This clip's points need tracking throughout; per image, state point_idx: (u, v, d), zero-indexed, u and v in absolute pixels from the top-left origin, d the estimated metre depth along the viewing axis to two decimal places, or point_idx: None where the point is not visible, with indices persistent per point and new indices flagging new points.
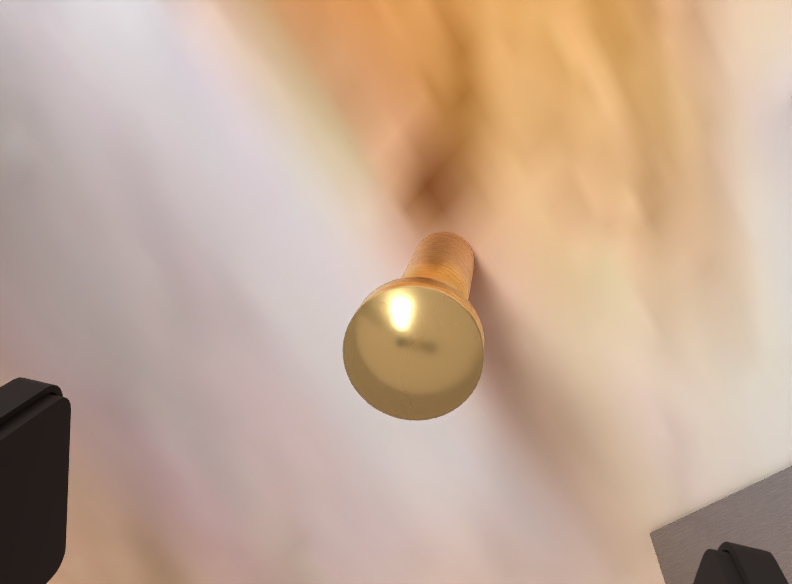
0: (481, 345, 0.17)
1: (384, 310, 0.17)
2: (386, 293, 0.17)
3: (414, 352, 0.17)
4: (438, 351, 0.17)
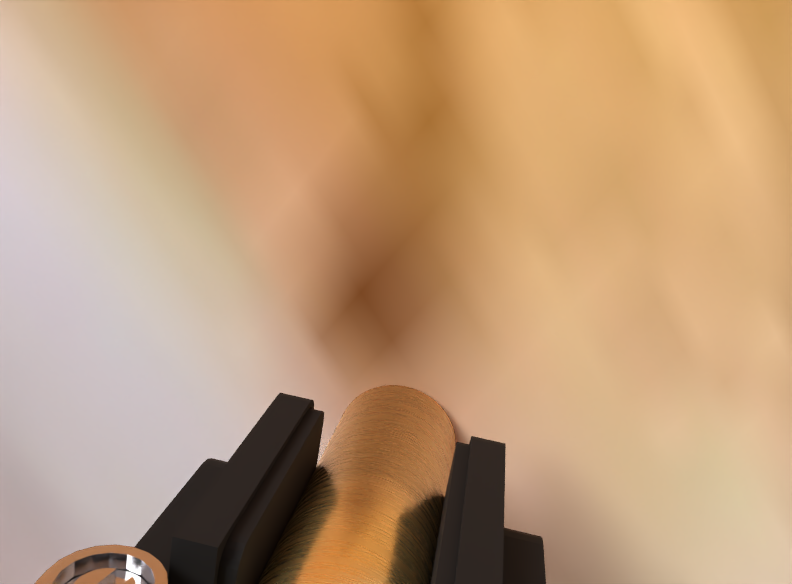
0: None
1: None
2: None
3: None
4: None
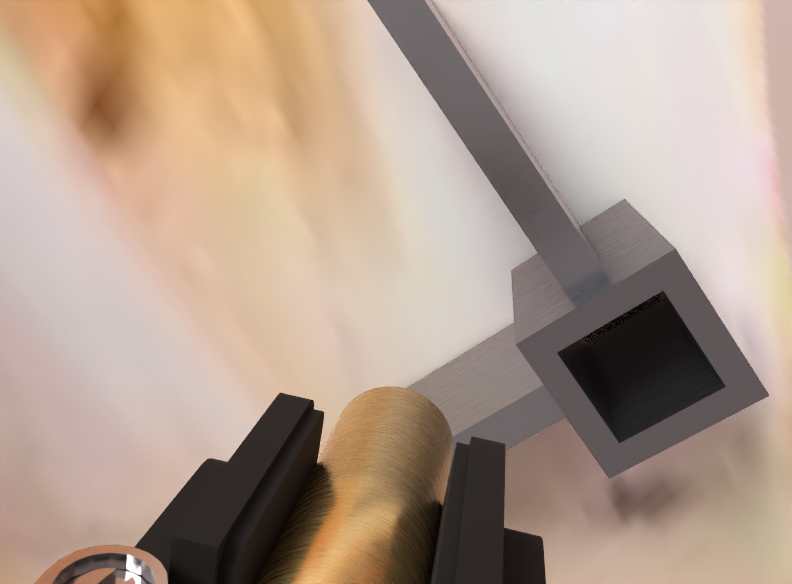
0: None
1: None
2: None
3: None
4: None
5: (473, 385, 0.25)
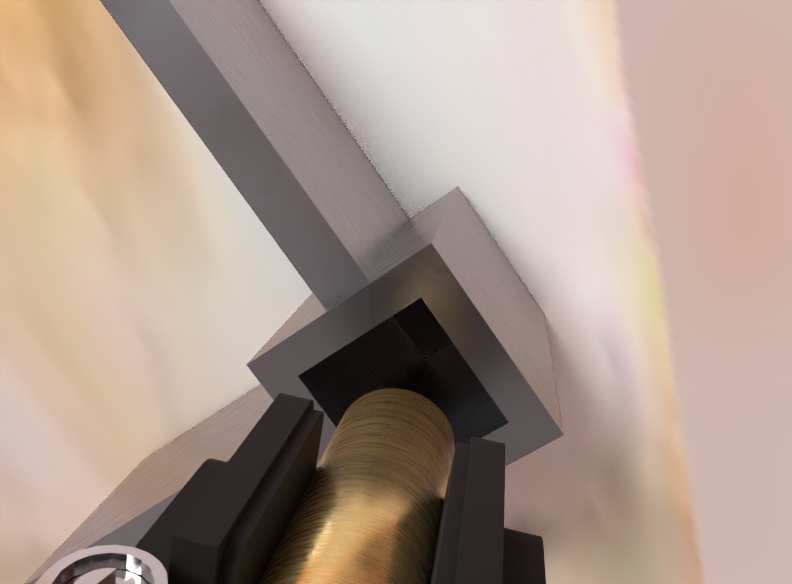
0: None
1: None
2: None
3: None
4: None
5: (261, 409, 0.20)
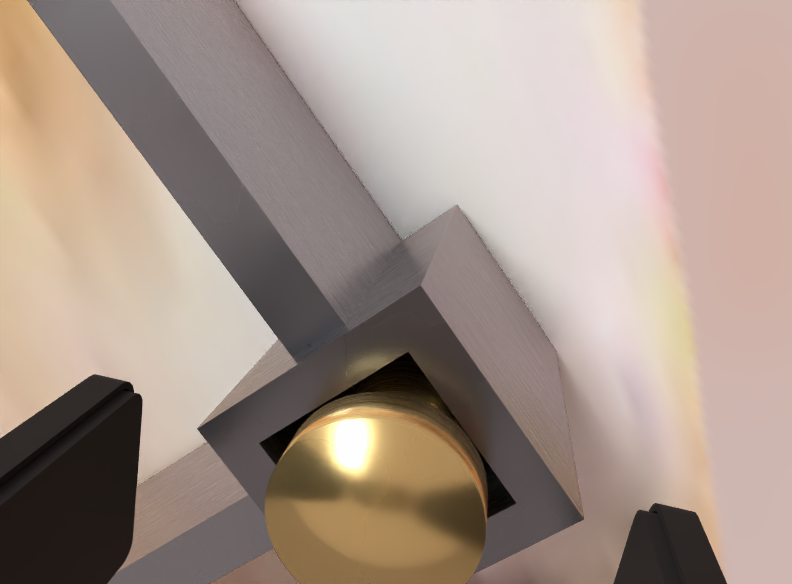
0: (483, 510, 0.11)
1: (327, 453, 0.11)
2: (330, 427, 0.11)
3: (376, 517, 0.11)
4: (414, 517, 0.11)
5: None
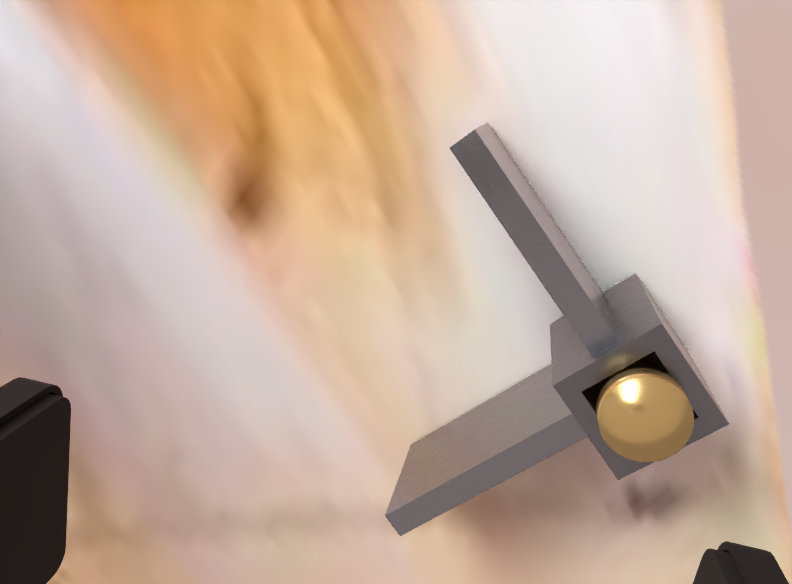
0: (693, 414, 0.27)
1: (628, 391, 0.27)
2: (631, 381, 0.27)
3: (647, 418, 0.27)
4: (663, 418, 0.27)
5: (521, 411, 0.34)
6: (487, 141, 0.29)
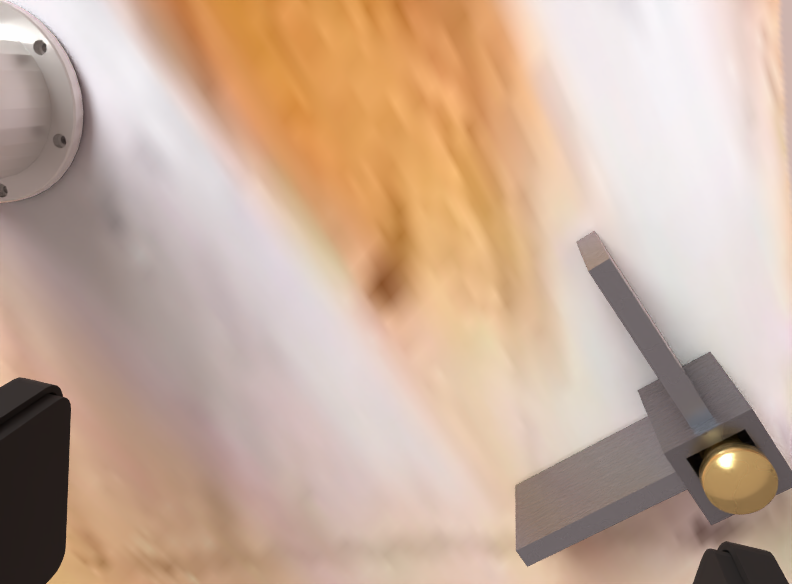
0: (777, 479, 0.35)
1: (729, 462, 0.35)
2: (731, 454, 0.35)
3: (742, 482, 0.35)
4: (754, 482, 0.35)
5: (622, 465, 0.42)
6: (612, 262, 0.37)
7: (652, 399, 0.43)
